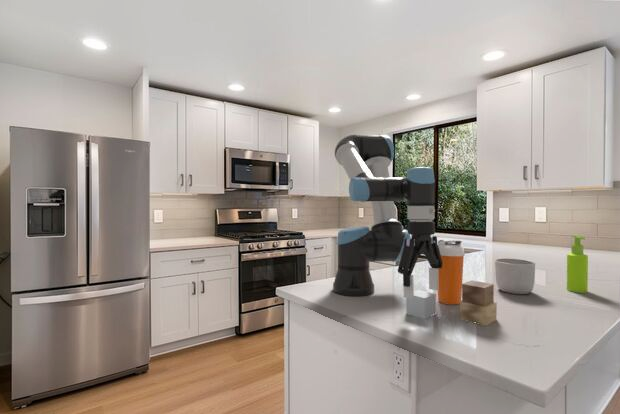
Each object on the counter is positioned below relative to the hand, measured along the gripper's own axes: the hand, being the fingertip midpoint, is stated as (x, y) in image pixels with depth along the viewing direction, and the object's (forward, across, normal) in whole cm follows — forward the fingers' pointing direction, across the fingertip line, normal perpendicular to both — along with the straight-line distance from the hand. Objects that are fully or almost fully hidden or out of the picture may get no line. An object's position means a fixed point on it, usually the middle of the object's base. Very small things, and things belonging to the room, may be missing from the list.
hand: (421, 293), depth 97 cm
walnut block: (+1, +8, -12) cm, 15 cm away
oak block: (+6, +8, -12) cm, 16 cm away
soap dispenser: (+6, +64, -24) cm, 68 cm away
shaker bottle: (+6, +18, +1) cm, 19 cm away
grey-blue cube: (+6, 0, 0) cm, 6 cm away
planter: (+6, +47, -9) cm, 48 cm away
